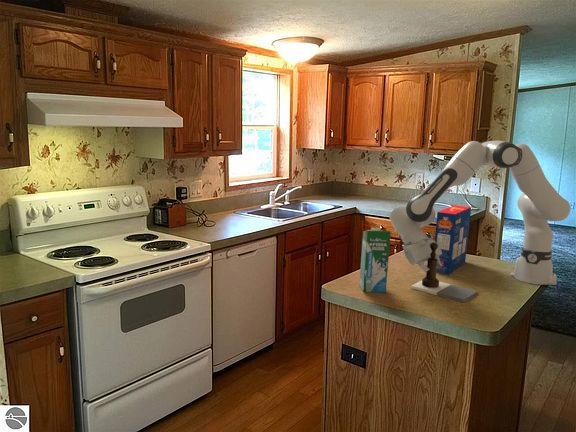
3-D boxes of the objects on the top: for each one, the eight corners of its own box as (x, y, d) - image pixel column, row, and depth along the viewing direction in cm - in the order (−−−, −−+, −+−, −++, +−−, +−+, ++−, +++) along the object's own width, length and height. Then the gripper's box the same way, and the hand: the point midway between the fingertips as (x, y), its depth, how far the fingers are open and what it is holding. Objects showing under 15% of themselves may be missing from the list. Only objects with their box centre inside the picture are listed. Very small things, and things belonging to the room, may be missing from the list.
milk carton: (381, 285, 197) (385, 226, 193) (385, 292, 188) (390, 231, 184) (359, 284, 197) (363, 225, 192) (363, 292, 188) (367, 230, 183)
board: (425, 280, 205) (426, 278, 205) (477, 293, 191) (477, 291, 191) (410, 288, 195) (411, 285, 194) (464, 302, 181) (464, 299, 180)
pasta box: (449, 259, 242) (454, 205, 237) (465, 262, 238) (471, 207, 233) (431, 271, 220) (437, 211, 214) (449, 275, 215) (455, 214, 210)
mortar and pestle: (435, 283, 199) (439, 241, 195) (440, 288, 192) (445, 245, 189) (419, 282, 199) (423, 240, 195) (424, 287, 192) (428, 244, 189)
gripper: (406, 240, 191) (425, 269, 185) (433, 233, 204) (452, 261, 199) (395, 248, 195) (414, 277, 190) (423, 242, 208) (441, 268, 203)
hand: (433, 269), depth 194 cm, fingers open, 8 cm apart
